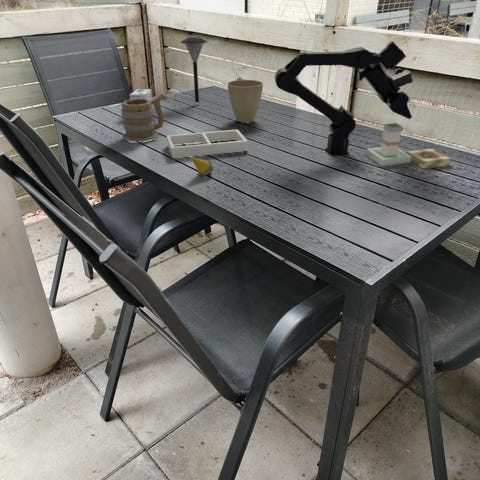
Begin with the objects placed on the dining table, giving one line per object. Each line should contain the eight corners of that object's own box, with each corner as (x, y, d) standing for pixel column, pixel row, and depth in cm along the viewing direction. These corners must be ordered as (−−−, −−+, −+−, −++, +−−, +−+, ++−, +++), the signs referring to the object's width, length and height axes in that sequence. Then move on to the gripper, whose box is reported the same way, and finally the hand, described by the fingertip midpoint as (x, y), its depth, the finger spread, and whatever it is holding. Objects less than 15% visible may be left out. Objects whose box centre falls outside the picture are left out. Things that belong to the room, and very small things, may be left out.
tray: (381, 166, 145) (383, 159, 144) (365, 155, 154) (366, 148, 152) (410, 163, 147) (411, 156, 146) (392, 152, 156) (393, 146, 155)
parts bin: (172, 159, 152) (171, 148, 150) (167, 146, 163) (166, 135, 161) (247, 151, 158) (247, 141, 156) (237, 139, 169) (237, 129, 167)
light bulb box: (139, 112, 203) (137, 88, 198) (154, 113, 203) (151, 88, 197) (131, 119, 194) (128, 94, 189) (146, 119, 194) (143, 94, 188)
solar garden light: (181, 107, 210) (176, 39, 194) (188, 101, 220) (184, 35, 205) (206, 108, 208) (203, 39, 193) (212, 102, 219) (209, 36, 203)
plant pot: (268, 119, 192) (269, 81, 184) (251, 128, 182) (251, 88, 173) (239, 114, 199) (239, 78, 191) (221, 122, 188) (220, 84, 180)
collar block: (422, 168, 143) (424, 161, 142) (405, 158, 152) (406, 151, 150) (448, 165, 146) (450, 158, 144) (430, 155, 154) (431, 148, 152)
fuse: (384, 160, 148) (390, 127, 142) (378, 155, 152) (383, 124, 146) (396, 159, 149) (402, 127, 143) (390, 154, 152) (396, 123, 147)
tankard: (134, 145, 164) (129, 105, 156) (118, 137, 172) (112, 98, 164) (179, 134, 175) (176, 96, 167) (162, 127, 183) (158, 90, 176)
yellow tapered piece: (216, 178, 139) (194, 162, 132) (204, 181, 142) (182, 166, 135) (219, 164, 141) (198, 147, 134) (207, 167, 144) (186, 151, 137)
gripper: (408, 67, 133) (437, 104, 138) (392, 57, 149) (418, 90, 154) (378, 93, 137) (407, 128, 143) (365, 81, 153) (391, 113, 159)
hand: (406, 114), depth 149 cm, fingers open, 9 cm apart
